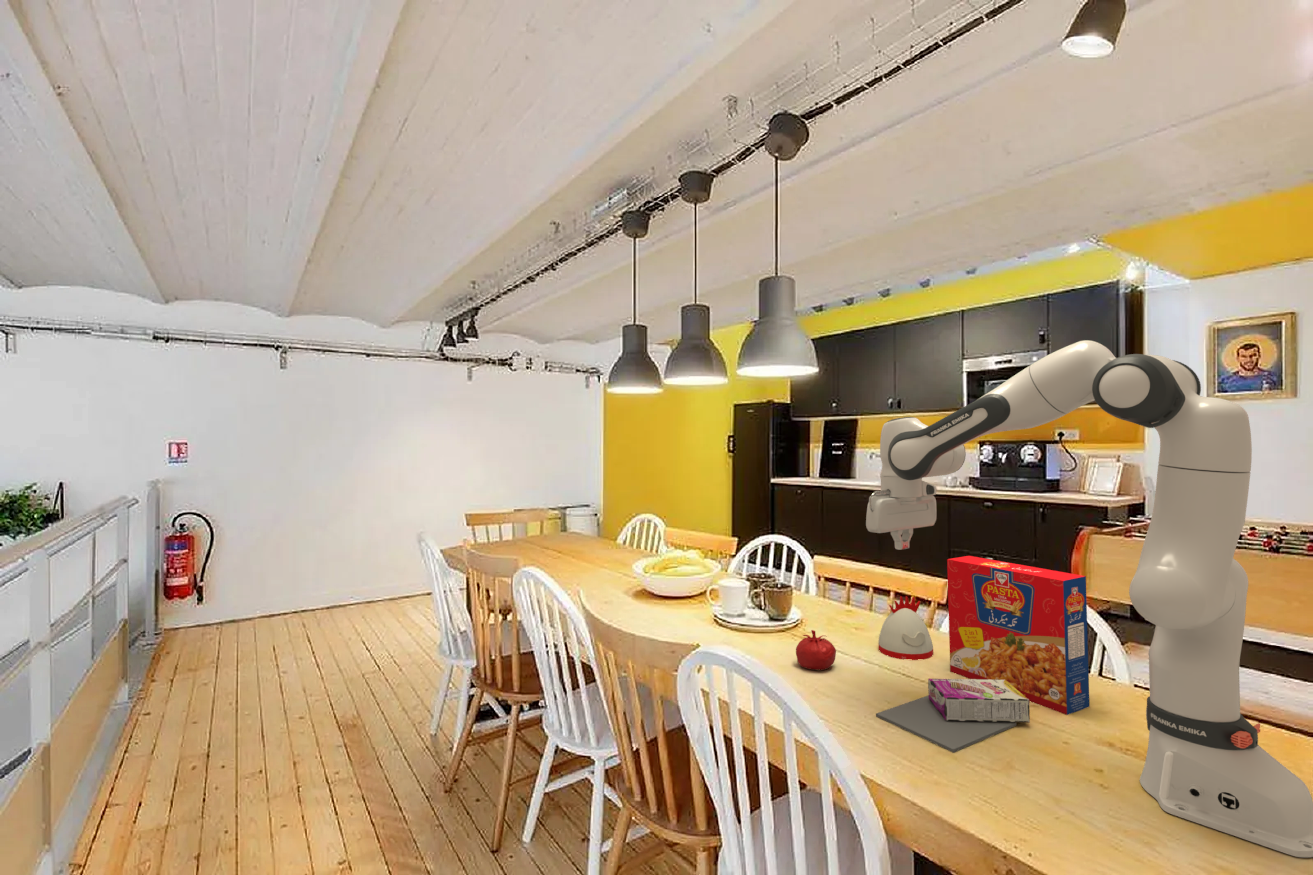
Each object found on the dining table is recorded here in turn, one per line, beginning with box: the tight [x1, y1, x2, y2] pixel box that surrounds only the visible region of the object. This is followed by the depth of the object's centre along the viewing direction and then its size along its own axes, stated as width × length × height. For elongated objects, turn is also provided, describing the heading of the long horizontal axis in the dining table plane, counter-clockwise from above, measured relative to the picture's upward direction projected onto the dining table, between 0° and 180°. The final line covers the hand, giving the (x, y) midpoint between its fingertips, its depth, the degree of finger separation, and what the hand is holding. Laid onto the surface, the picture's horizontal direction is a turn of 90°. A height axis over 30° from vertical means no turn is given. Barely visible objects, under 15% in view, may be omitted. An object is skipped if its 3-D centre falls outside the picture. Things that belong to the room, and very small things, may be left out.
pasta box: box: [946, 555, 1090, 716], centre depth 144 cm, size 28×8×28 cm, turn 26°
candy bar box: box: [927, 678, 1031, 724], centre depth 131 cm, size 11×5×16 cm
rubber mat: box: [875, 694, 1017, 754], centre depth 128 cm, size 18×20×1 cm
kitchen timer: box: [877, 595, 934, 661], centre depth 170 cm, size 14×14×15 cm
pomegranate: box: [795, 629, 837, 671], centre depth 160 cm, size 10×10×9 cm
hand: (902, 548), depth 143 cm, fingers closed
